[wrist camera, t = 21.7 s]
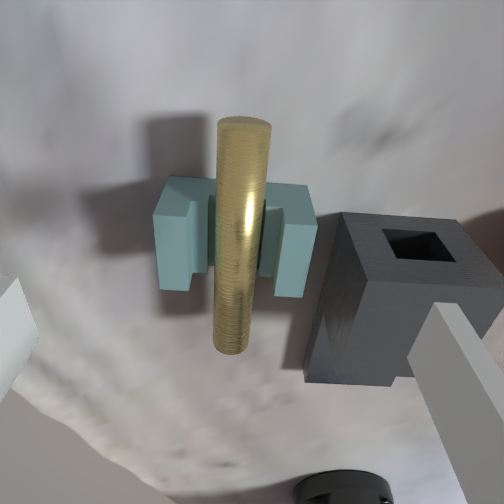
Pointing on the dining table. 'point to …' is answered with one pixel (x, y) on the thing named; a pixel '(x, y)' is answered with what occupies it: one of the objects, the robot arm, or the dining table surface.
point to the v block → (203, 234)
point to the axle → (238, 226)
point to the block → (394, 294)
